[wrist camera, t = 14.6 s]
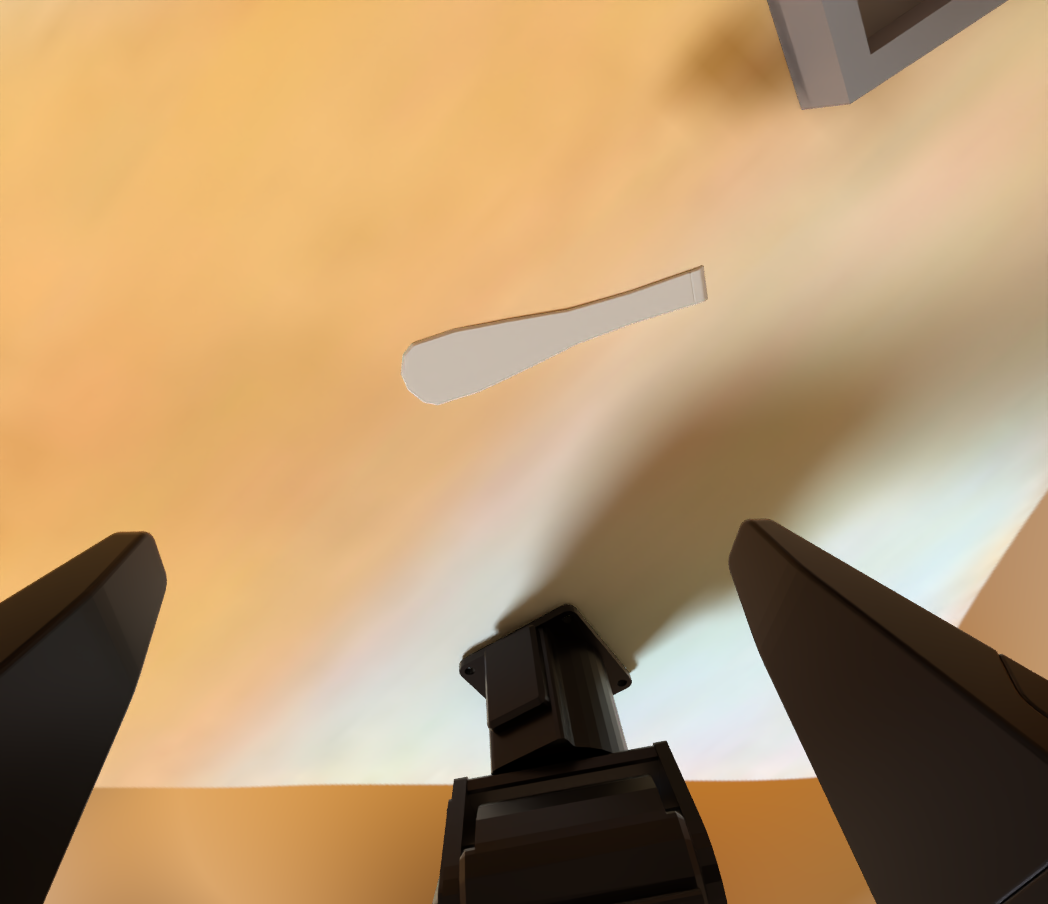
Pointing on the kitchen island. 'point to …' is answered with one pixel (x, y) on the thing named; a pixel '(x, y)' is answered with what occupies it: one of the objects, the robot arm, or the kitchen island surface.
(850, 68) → the charcoal tray
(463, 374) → the butter knife
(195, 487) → the kitchen island surface
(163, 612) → the kitchen island surface
